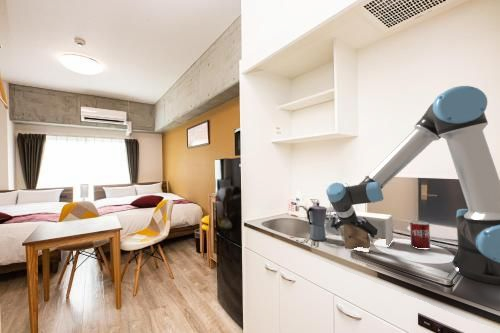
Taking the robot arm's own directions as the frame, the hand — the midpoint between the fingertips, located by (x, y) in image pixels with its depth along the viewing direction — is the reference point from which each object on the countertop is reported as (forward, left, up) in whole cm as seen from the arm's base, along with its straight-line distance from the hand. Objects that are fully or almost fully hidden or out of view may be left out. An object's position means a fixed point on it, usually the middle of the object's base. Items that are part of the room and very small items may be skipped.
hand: (356, 237), depth 104 cm
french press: (+27, -6, -6) cm, 28 cm away
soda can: (-10, -28, -6) cm, 30 cm away
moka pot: (+19, +9, -6) cm, 22 cm away
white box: (+7, -13, -5) cm, 15 cm away
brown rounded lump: (-1, +1, -5) cm, 6 cm away
